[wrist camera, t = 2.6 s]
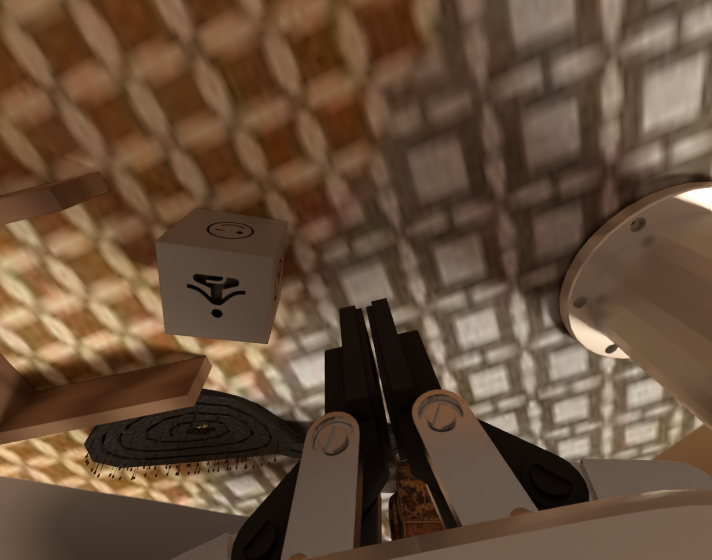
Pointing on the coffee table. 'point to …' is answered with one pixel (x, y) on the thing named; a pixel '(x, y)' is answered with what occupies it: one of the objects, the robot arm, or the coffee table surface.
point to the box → (94, 397)
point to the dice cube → (221, 275)
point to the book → (411, 507)
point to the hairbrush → (196, 435)
